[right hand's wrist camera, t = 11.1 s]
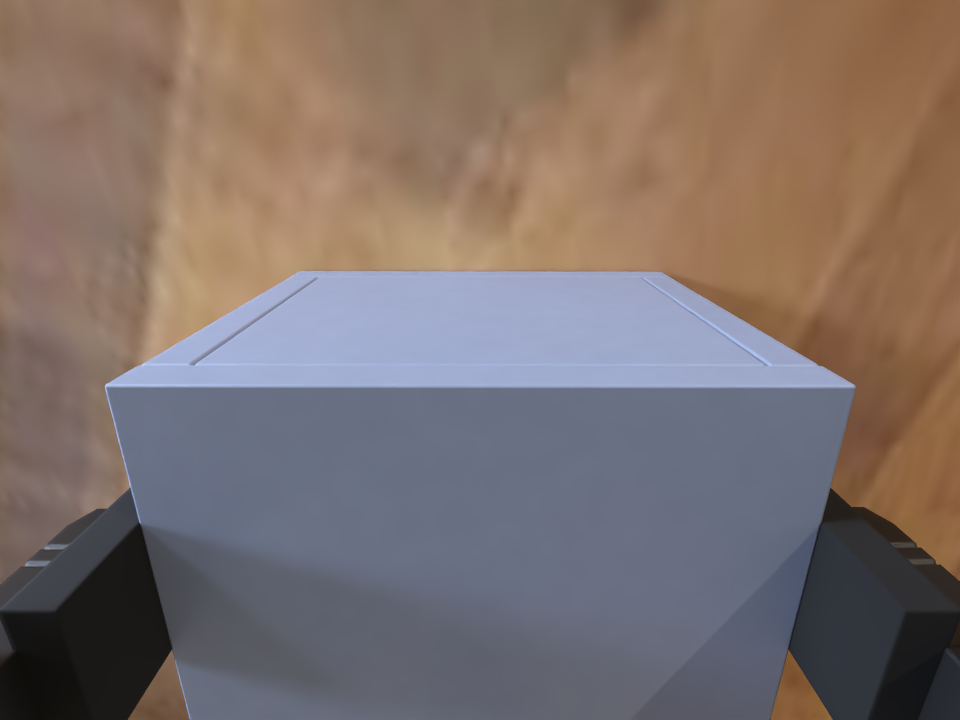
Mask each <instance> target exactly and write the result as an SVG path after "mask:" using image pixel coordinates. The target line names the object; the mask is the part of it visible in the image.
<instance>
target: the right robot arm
mask: <svg viewBox="0 0 960 720" xmlns="http://www.w3.org/2000/svg"><path fill="white" fill-rule="evenodd" d="M171 650H172V648H171V644H170V640H169V636H168V632H167V628H166V624H165V620H164V616H163V612H162V608H161V605H160V601H159V597H158V593H157V589H156V585H155V581H154V577H153V573H152V569H151V565H150V561H149V558H148V554H147V550H146V546H145V542H144V538H143V534H142V530H141V526H140V522H139V518H138V515H137V511H136V507H135V503H134V499H133V495H132V491H131V487H130V488H129V489H128V490H127V491H126V492H125V493H124V494H123V495H122V496H121V497H120V498H119V499H117V500H116V501H115V502H114V503H113V504H112V505H111V506H110V507H109V508H108V509H96V510H95V511H93V512H91V513H89V514H87V515H86V516H84V517H82V518H80V519H79V520H77V521H75V522H73V523H72V524H70V525H68V526H67V527H66V528H64V529H63V530H62V531H61V532H60V533H59V534H58V535H56V536H55V537H54V538H53V539H52V540H51V541H50V542H49V543H47V544H46V545H45V549H44V550H39V551H38V552H37V553H36V554H35V555H34V556H33V557H31V558H30V559H29V560H28V561H27V562H26V566H25V567H20V568H19V569H18V570H17V571H16V572H14V573H13V574H12V575H11V576H10V577H9V578H8V579H6V580H5V581H4V582H3V583H2V584H1V585H0V720H128V718H129V716H130V715H131V713H132V712H133V710H134V708H135V707H136V705H137V704H138V702H139V701H140V699H141V697H142V696H143V694H144V693H145V691H146V690H147V688H148V686H149V685H150V683H151V682H152V680H153V678H154V677H155V675H156V674H157V672H158V671H159V669H160V667H161V666H162V664H163V663H164V661H165V659H166V658H167V656H168V655H169V653H170V652H171ZM789 651H790V652H791V654H792V655H793V657H794V659H795V660H796V662H797V663H798V665H799V666H800V668H801V670H802V671H803V673H804V674H805V676H806V678H807V679H808V681H809V682H810V684H811V685H812V687H813V689H814V690H815V692H816V693H817V695H818V696H819V698H820V700H821V701H822V703H823V704H824V706H825V708H826V709H827V711H828V712H829V714H830V715H831V717H832V719H833V720H960V581H958V580H957V579H956V578H955V577H954V576H953V575H952V574H950V573H949V572H948V571H947V570H946V569H945V568H944V567H942V566H941V565H937V564H936V563H935V560H934V559H933V558H932V557H931V556H930V555H929V554H928V553H926V552H925V551H924V550H923V549H922V548H917V546H916V543H915V542H914V541H913V540H912V539H910V538H909V537H908V536H907V535H906V534H905V533H903V532H902V531H901V530H900V529H899V528H898V527H897V526H895V525H894V524H893V523H891V522H889V521H888V520H886V519H884V518H882V517H880V516H879V515H877V514H875V513H873V512H872V511H870V510H868V509H866V508H864V507H851V506H850V505H849V504H847V503H846V502H845V501H844V500H843V499H842V498H841V497H840V496H839V495H838V494H837V493H836V492H835V491H833V490H832V489H831V488H830V491H829V495H828V499H827V502H826V506H825V510H824V514H823V518H822V522H821V526H820V529H819V533H818V537H817V541H816V545H815V549H814V553H813V556H812V560H811V564H810V568H809V572H808V576H807V580H806V583H805V587H804V591H803V595H802V599H801V603H800V607H799V610H798V614H797V618H796V622H795V626H794V630H793V634H792V637H791V641H790V645H789Z"/></svg>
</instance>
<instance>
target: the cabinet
mask: <svg viewBox="0 0 960 720" xmlns="http://www.w3.org/2000/svg"><path fill="white" fill-rule="evenodd" d="M105 389H106V393H107V397H108V401H109V405H110V409H111V413H112V417H113V421H114V424H115V428H116V432H117V436H118V440H119V444H120V448H121V452H122V456H123V460H124V464H125V468H126V471H127V475H128V479H129V483H130V487H131V491H132V495H133V499H134V503H135V507H136V511H137V515H138V518H139V522H140V526H141V530H142V534H143V538H144V542H145V546H146V550H147V554H148V558H149V561H150V565H151V569H152V573H153V577H154V581H155V585H156V589H157V593H158V597H159V601H160V605H161V608H162V612H163V616H164V620H165V624H166V628H167V632H168V636H169V640H170V644H171V648H172V651H173V655H174V659H175V663H176V667H177V671H178V675H179V679H180V683H181V687H182V691H183V695H184V698H185V702H186V706H187V710H188V714H189V718H190V720H770V719H771V715H772V711H773V707H774V703H775V699H776V695H777V692H778V688H779V684H780V680H781V676H782V672H783V668H784V664H785V661H786V657H787V653H788V649H789V645H790V641H791V637H792V634H793V630H794V626H795V622H796V618H797V614H798V610H799V607H800V603H801V599H802V595H803V591H804V587H805V583H806V580H807V576H808V572H809V568H810V564H811V560H812V556H813V553H814V549H815V545H816V541H817V537H818V533H819V529H820V526H821V522H822V518H823V514H824V510H825V506H826V502H827V499H828V495H829V491H830V487H831V483H832V479H833V475H834V472H835V468H836V464H837V460H838V456H839V452H840V448H841V445H842V441H843V437H844V433H845V429H846V425H847V421H848V417H849V414H850V410H851V406H852V402H853V398H854V394H855V390H856V386H855V385H854V384H852V383H850V382H849V381H847V380H845V379H844V378H842V377H840V376H838V375H837V374H835V373H833V372H832V371H830V370H828V369H826V368H825V367H823V366H819V365H818V364H816V363H814V362H813V361H811V360H809V359H808V358H806V357H804V356H803V355H801V354H799V353H797V352H796V351H794V350H792V349H791V348H789V347H787V346H786V345H784V344H782V343H780V342H779V341H777V340H775V339H774V338H772V337H770V336H769V335H767V334H765V333H763V332H762V331H760V330H758V329H757V328H755V327H753V326H752V325H750V324H748V323H747V322H745V321H743V320H741V319H740V318H738V317H736V316H735V315H733V314H731V313H730V312H728V311H726V310H724V309H723V308H721V307H719V306H718V305H716V304H714V303H713V302H711V301H709V300H707V299H706V298H704V297H702V296H701V295H699V294H697V293H696V292H694V291H692V290H690V289H689V288H687V287H685V286H684V285H682V284H680V283H679V282H677V281H675V280H673V279H672V278H670V277H669V276H667V275H666V274H664V273H662V272H548V271H299V272H298V273H296V274H294V275H292V276H291V277H290V278H288V279H286V280H285V281H283V282H281V283H280V284H278V285H276V286H274V287H273V288H271V289H269V290H268V291H266V292H264V293H263V294H261V295H259V296H257V297H256V298H254V299H252V300H251V301H249V302H247V303H246V304H244V305H242V306H241V307H239V308H237V309H235V310H234V311H232V312H230V313H229V314H227V315H225V316H224V317H222V318H220V319H218V320H217V321H215V322H213V323H212V324H210V325H208V326H207V327H205V328H203V329H201V330H200V331H198V332H196V333H195V334H193V335H191V336H190V337H188V338H186V339H184V340H183V341H181V342H179V343H178V344H176V345H174V346H173V347H171V348H169V349H167V350H166V351H164V352H162V353H161V354H159V355H157V356H156V357H154V358H152V359H151V360H149V361H147V362H145V363H144V364H143V365H139V366H137V367H135V368H133V369H132V370H130V371H128V372H126V373H125V374H123V375H121V376H120V377H118V378H116V379H115V380H113V381H111V382H109V383H108V384H106V385H105Z"/></svg>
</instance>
